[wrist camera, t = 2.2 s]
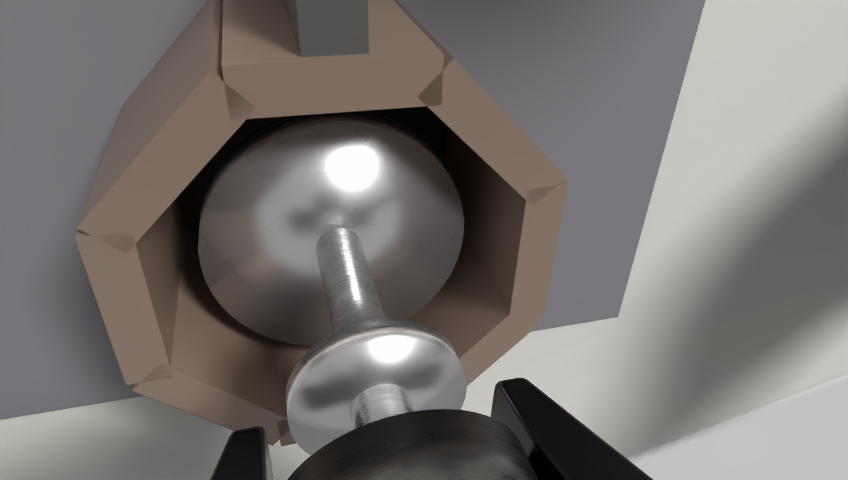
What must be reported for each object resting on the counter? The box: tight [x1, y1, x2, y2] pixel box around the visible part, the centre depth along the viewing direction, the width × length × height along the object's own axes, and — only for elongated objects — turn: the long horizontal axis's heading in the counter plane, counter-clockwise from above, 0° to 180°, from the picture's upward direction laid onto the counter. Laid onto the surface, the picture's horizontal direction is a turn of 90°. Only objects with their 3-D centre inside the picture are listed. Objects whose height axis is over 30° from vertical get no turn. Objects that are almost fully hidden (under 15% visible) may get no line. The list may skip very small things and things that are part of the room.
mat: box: [0, 0, 705, 420], centre depth 15 cm, size 20×14×1 cm
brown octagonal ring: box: [75, 0, 568, 446], centre depth 12 cm, size 8×11×5 cm
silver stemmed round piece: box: [198, 111, 538, 480], centre depth 9 cm, size 5×5×8 cm
